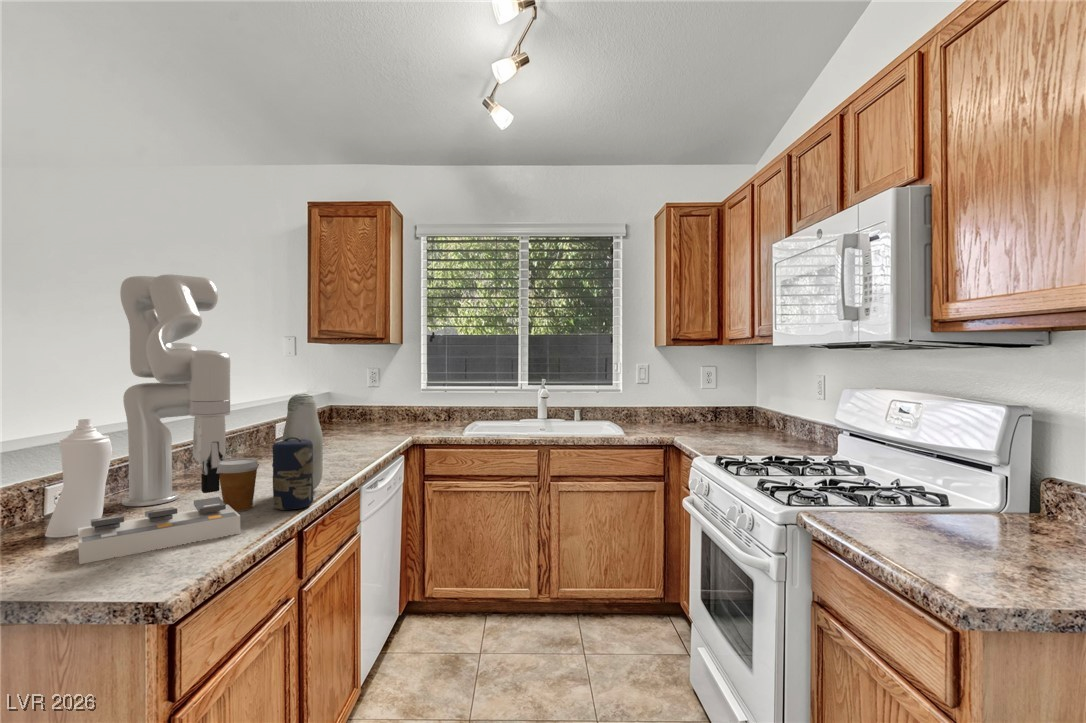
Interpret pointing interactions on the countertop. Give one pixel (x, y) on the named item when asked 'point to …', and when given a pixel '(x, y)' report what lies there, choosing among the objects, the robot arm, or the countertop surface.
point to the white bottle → (81, 480)
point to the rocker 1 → (107, 520)
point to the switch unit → (154, 533)
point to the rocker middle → (160, 512)
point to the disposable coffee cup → (238, 482)
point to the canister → (292, 474)
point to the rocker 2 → (209, 505)
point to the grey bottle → (306, 429)
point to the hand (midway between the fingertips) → (210, 491)
